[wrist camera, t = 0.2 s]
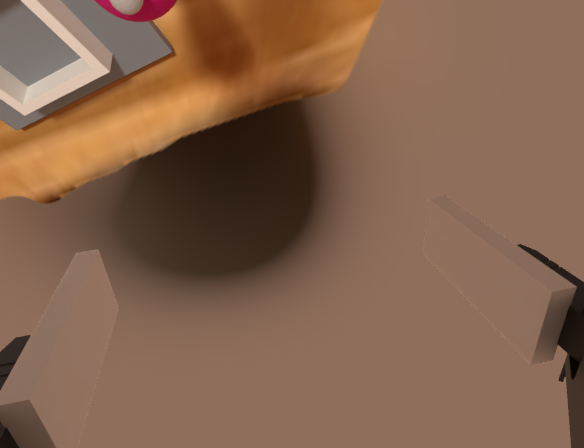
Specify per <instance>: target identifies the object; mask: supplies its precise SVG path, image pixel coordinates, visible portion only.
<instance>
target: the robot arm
mask: <svg viewBox="0 0 584 448" xmlns="http://www.w3.org/2000/svg"><path fill="white" fill-rule="evenodd" d="M422 253H423V255H424V256H425V257H426V258H427V259H428V260H429V261H430V262H431V263H432V264H433V265H434V266H435V267H436V268H437V269H438V270H439V271H440V272H441V273H442V274H443V276H444V277H445V278H446V279H448V280H449V282H450V283H451V284H452V285H453V286H454V287H455V288H456V289H457V290H458V291H459V292H460V293H461V294H462V295H463V296H464V297H465V298H466V299H467V300H468V301H469V302H470V303H471V304H472V305H473V306H474V307H475V308H476V309H477V311H478V312H479V313H480V314H481V315H482V316H483V317H484V318H485V319H486V320H487V321H488V322H489V323H490V324H491V325H492V326H493V327H494V328H495V329H496V330H497V331H498V332H499V333H500V334H501V335H502V336H503V337H504V338H505V339H506V340H507V341H508V342H509V343H510V344H511V345H512V346H513V347H514V349H515V350H517V352H518V353H519V354H520V355H521V356H522V357H523V358H524V359H525V360H526V361H527V362H528V363H529V364H530V365H533V364H538V363H542V362H546V361H550V360H553V358H554V355H555V352H556V349H557V346H558V345H559V346H560V347H562V348H563V349H564V350H565V351H566V352H567V353H568V354H567V357H566V360H565V363H564V365H563V368H562V371H561V374H560V377H559V381H561V382H563V380H564V377H566V384H567V397H568V409H569V423H570V436H571V448H584V282H583V281H581V280H580V279H578V278H576V277H575V276H574V275H572V274H571V273H569V272H568V271H566V270H565V269H563V268H562V267H559V266H558V265H557V264H556V263H554V262H553V261H549V259H548V258H547V257H545V256H544V255H542V254H540V253H539V252H538V251H536V250H533V249H531V248H529V247H526V246H523V245H521V244H520V245H516V244H514V243H513V242H511V241H510V240H509V239H507V238H506V237H504V236H503V235H501V234H500V233H498V232H497V231H495V230H494V229H493V228H491V227H490V226H488V225H487V224H486V223H484V222H483V221H481V220H480V219H478V218H477V217H475V216H474V215H472V214H471V213H470V212H468V211H467V210H465V209H464V208H462V207H461V206H460V205H458V204H457V203H455V202H454V201H452V200H451V199H449V198H448V197H447V196H445V195H443V196H437V197H430V198H428V202H427V213H426V222H425V232H424V242H423V252H422ZM118 309H119V307H118V305H117V302H116V299H115V296H114V293H113V290H112V287H111V285H110V282H109V279H108V276H107V273H106V270H105V267H104V264H103V262H102V259H101V256H100V253H99V250H92V251H85V252H79V253H76V254H75V256H74V258H73V260H72V262H71V263H70V265H69V267H68V269H67V271H66V272H65V274H64V276H63V278H62V280H61V282H60V283H59V285H58V287H57V289H56V291H55V293H54V294H53V296H52V298H51V300H50V302H49V303H48V306H47V307H46V309H45V311H44V312H43V314H42V316H41V318H40V320H39V322H38V323H37V325H36V327H35V329H34V331H33V333H32V334H31V335H28V336H23V337H17V338H15V339H14V340H13V341H12V342H11V343H9V344H8V345H7V346H6V347H5V348H4V349H3V350H2V351H1V352H0V448H78V446H79V443H80V439H81V436H82V433H83V429H84V425H85V422H86V419H87V415H88V412H89V409H90V405H91V402H92V398H93V395H94V391H95V388H96V385H97V381H98V377H99V374H100V371H101V367H102V364H103V360H104V357H105V354H106V350H107V347H108V343H109V340H110V336H111V333H112V330H113V326H114V323H115V319H116V316H117V313H118Z"/></svg>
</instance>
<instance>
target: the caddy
mask: <svg viewBox="0 0 584 448" xmlns="http://www.w3.org/2000/svg"><path fill="white" fill-rule="evenodd" d="M170 53H172V45H171V44H170V43H169V42H168V40H167V39H166V38H165V36H164V35H163V34H162V33H161V31H160V30H159V29H158V28H157V26H156V25H155V24H154V22H153V21H147V22H133V21H127V20H124V19H121V18H119V17H116V16H114V15H113V14H111V13H109V12H108V11H106V10H105V9H104V8H102V7H101V6H100V5H99V4H97V3H96V2H95V1H94V0H0V120H2V121H3V122H5V123H6V124H8V125H9V126H11V127H12V128H14V129H15V130H19V129H21V128H23V127H25V126H27V125H29V124H31V123H33V122H35V121H37V120H39V119H41V118H43V117H45V116H47V115H49V114H51V113H53V112H55V111H57V110H59V109H61V108H62V107H64V106H66V105H68V104H70V103H72V102H74V101H76V100H78V99H80V98H82V97H84V96H86V95H88V94H90V93H92V92H94V91H96V90H98V89H100V88H102V87H104V86H106V85H108V84H110V83H112V82H114V81H116V80H118V79H120V78H122V77H124V76H126V75H128V74H130V73H132V72H134V71H136V70H138V69H140V68H142V67H144V66H146V65H148V64H150V63H152V62H154V61H156V60H158V59H160V58H162V57H164V56H166V55H168V54H170Z"/></svg>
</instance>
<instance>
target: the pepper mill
mask: <svg viewBox="0 0 584 448" xmlns="http://www.w3.org/2000/svg"><path fill="white" fill-rule="evenodd" d="M94 1H95V2H96V3H97V4H99V5H100V6H101V7H102V8H104V9H105V10H106V11H108V12H109V13H111V14H113V15H114V16H116V17H119V18H121V19H124V20H127V21H133V22H147V21H152V20H155V19H157V18H159V17H161V16H163V15H164V14H166V13H167V12H168V11H169V10H170V9H171V8H172V7H173V6H174V4H175V2H176V1H177V0H94Z"/></svg>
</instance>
